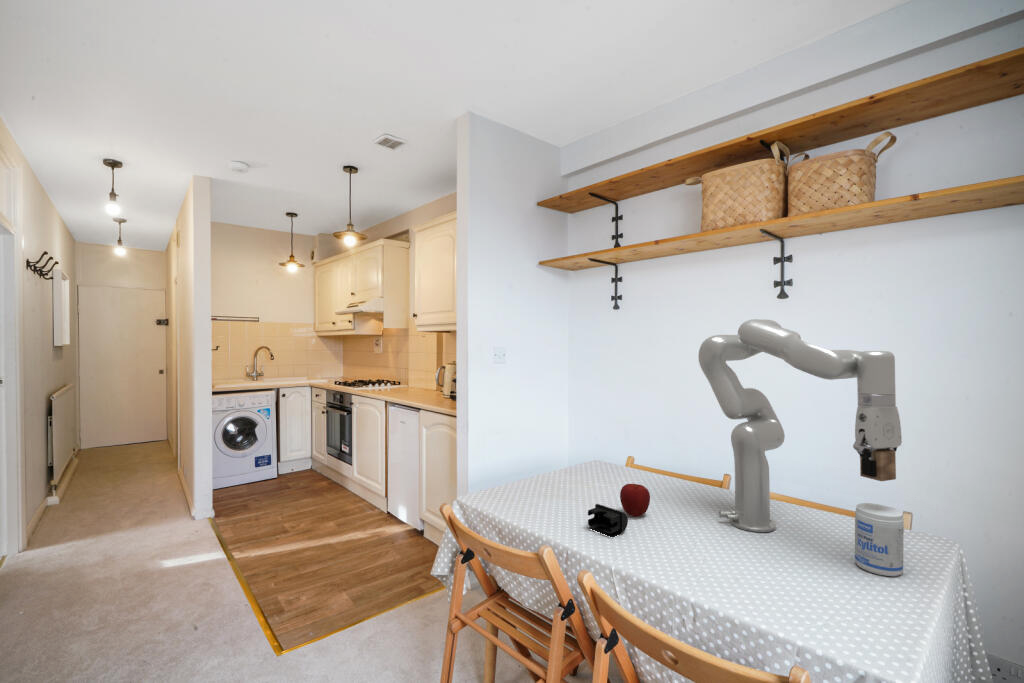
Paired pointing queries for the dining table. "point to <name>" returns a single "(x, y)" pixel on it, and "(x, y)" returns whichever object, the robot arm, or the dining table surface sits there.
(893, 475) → the walnut block
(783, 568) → the dining table surface
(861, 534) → the supplement tub
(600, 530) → the end cap
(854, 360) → the robot arm
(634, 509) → the apple
